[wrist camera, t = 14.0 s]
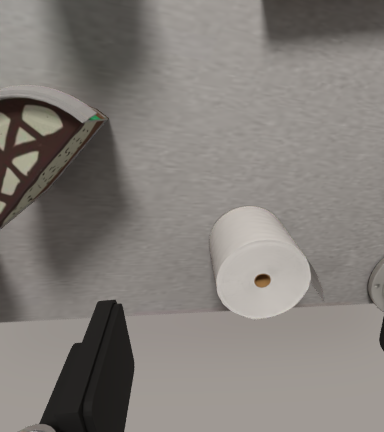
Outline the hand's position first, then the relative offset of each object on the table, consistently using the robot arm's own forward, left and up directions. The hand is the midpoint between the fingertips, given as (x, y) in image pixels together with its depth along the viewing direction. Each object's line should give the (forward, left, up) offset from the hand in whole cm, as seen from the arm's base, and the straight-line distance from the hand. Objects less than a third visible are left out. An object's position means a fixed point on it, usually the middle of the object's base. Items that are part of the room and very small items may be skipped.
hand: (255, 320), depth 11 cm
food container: (+18, -4, -31) cm, 36 cm away
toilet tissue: (-6, +13, -31) cm, 34 cm away
